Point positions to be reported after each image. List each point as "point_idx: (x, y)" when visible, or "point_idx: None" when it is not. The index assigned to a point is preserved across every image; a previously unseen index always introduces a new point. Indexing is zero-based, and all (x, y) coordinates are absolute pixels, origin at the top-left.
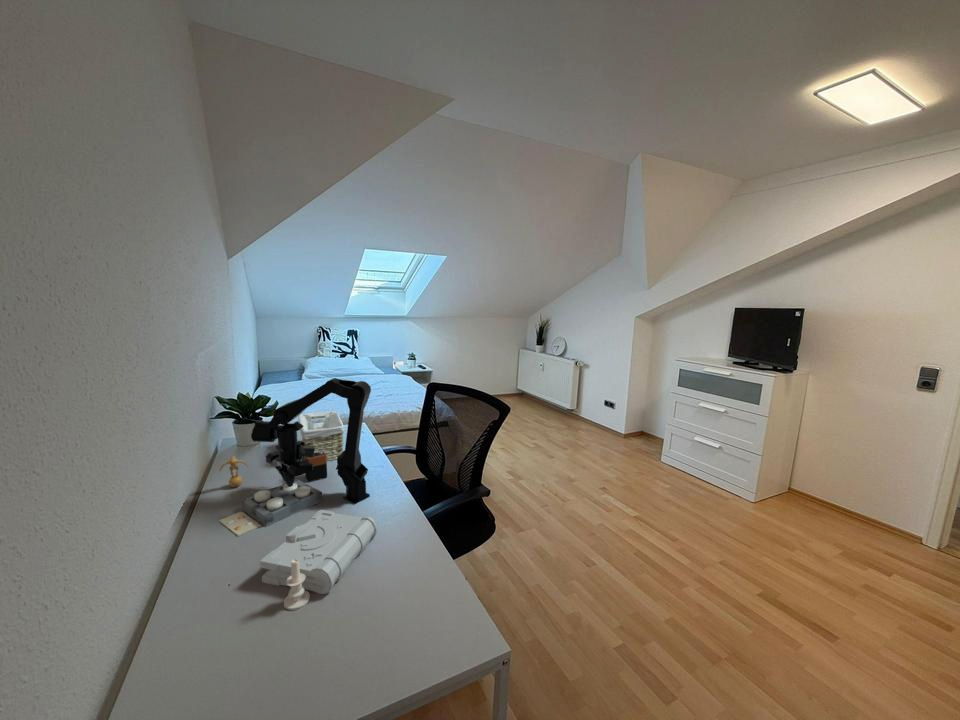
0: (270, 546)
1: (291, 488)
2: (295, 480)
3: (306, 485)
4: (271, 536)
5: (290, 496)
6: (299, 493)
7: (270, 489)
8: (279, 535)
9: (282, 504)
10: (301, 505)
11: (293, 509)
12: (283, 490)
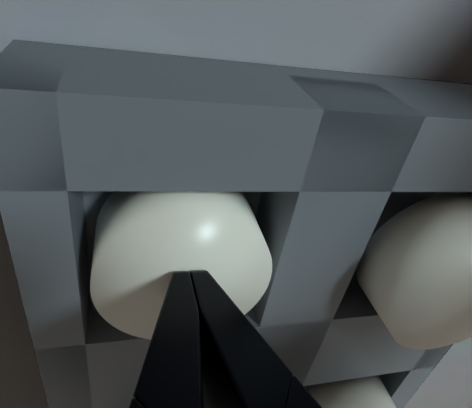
0: (452, 397)
1: (253, 296)
2: (26, 139)
3: (343, 137)
4: (418, 388)
5: (346, 329)
6: (465, 332)
7: (51, 393)
8: (445, 372)
9: (390, 397)
10: None
11: None
12: None
